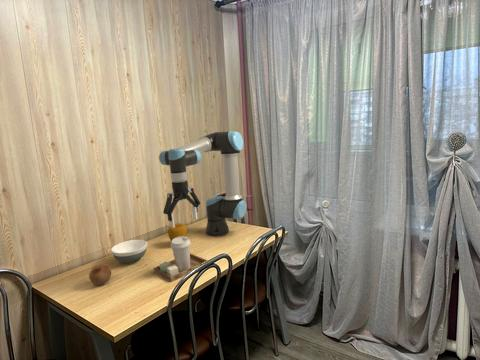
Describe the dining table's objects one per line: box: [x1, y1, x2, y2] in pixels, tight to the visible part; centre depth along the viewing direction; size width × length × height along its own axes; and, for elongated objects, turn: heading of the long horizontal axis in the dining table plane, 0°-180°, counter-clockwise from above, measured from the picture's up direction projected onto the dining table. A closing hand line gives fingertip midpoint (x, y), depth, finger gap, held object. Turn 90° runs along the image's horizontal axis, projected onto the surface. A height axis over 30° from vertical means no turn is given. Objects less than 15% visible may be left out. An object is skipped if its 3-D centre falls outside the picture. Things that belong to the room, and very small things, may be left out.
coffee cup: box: [170, 236, 191, 271], centre depth 152 cm, size 10×10×15 cm
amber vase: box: [167, 223, 188, 242], centre depth 187 cm, size 11×11×13 cm
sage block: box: [159, 261, 172, 274], centre depth 152 cm, size 4×4×4 cm
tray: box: [152, 252, 209, 283], centre depth 155 cm, size 22×16×2 cm
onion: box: [88, 264, 112, 286], centre depth 145 cm, size 10×9×10 cm
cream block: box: [167, 265, 179, 276], centre depth 148 cm, size 4×4×4 cm
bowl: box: [110, 239, 148, 265], centre depth 169 cm, size 19×19×8 cm
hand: (184, 223), depth 154 cm, fingers open, 13 cm apart
